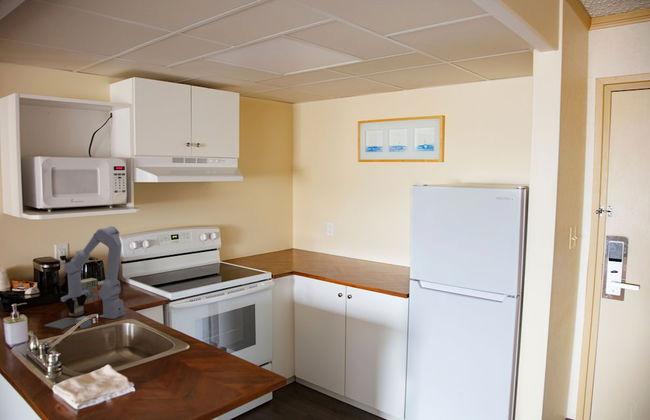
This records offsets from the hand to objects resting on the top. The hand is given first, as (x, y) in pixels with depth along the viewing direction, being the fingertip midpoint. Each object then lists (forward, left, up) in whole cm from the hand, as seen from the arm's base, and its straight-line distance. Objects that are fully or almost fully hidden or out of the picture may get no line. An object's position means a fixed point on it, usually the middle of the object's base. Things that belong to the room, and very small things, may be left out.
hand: (76, 311), depth 232 cm
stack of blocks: (+12, -21, -2) cm, 24 cm away
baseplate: (-7, +12, -1) cm, 14 cm away
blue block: (-18, +11, -2) cm, 21 cm away
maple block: (0, 0, -1) cm, 1 cm away
